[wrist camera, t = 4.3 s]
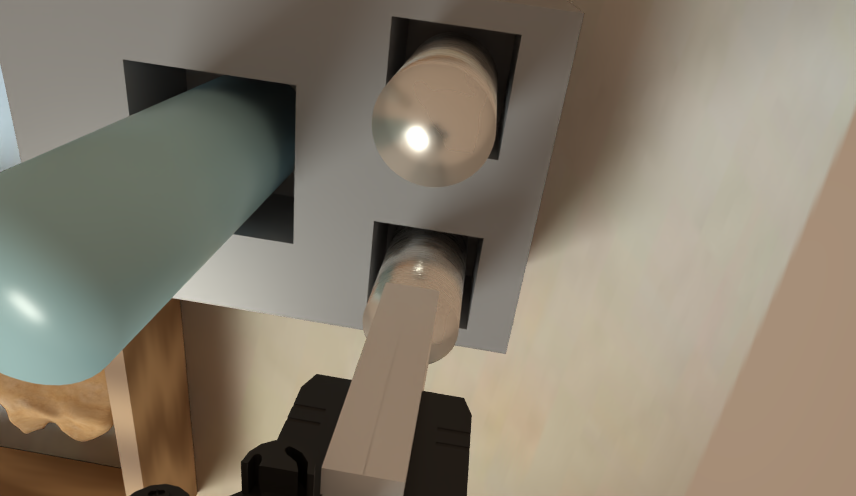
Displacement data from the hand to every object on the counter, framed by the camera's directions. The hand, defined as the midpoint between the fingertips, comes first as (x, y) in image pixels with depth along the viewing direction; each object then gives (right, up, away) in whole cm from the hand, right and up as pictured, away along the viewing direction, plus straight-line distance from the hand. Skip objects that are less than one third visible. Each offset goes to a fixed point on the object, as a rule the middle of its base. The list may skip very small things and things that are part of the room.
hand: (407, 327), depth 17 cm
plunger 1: (+1, +8, +3) cm, 8 cm away
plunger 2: (+1, +3, +7) cm, 7 cm away
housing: (-4, +8, +8) cm, 12 cm away
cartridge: (-6, +7, +7) cm, 11 cm away
